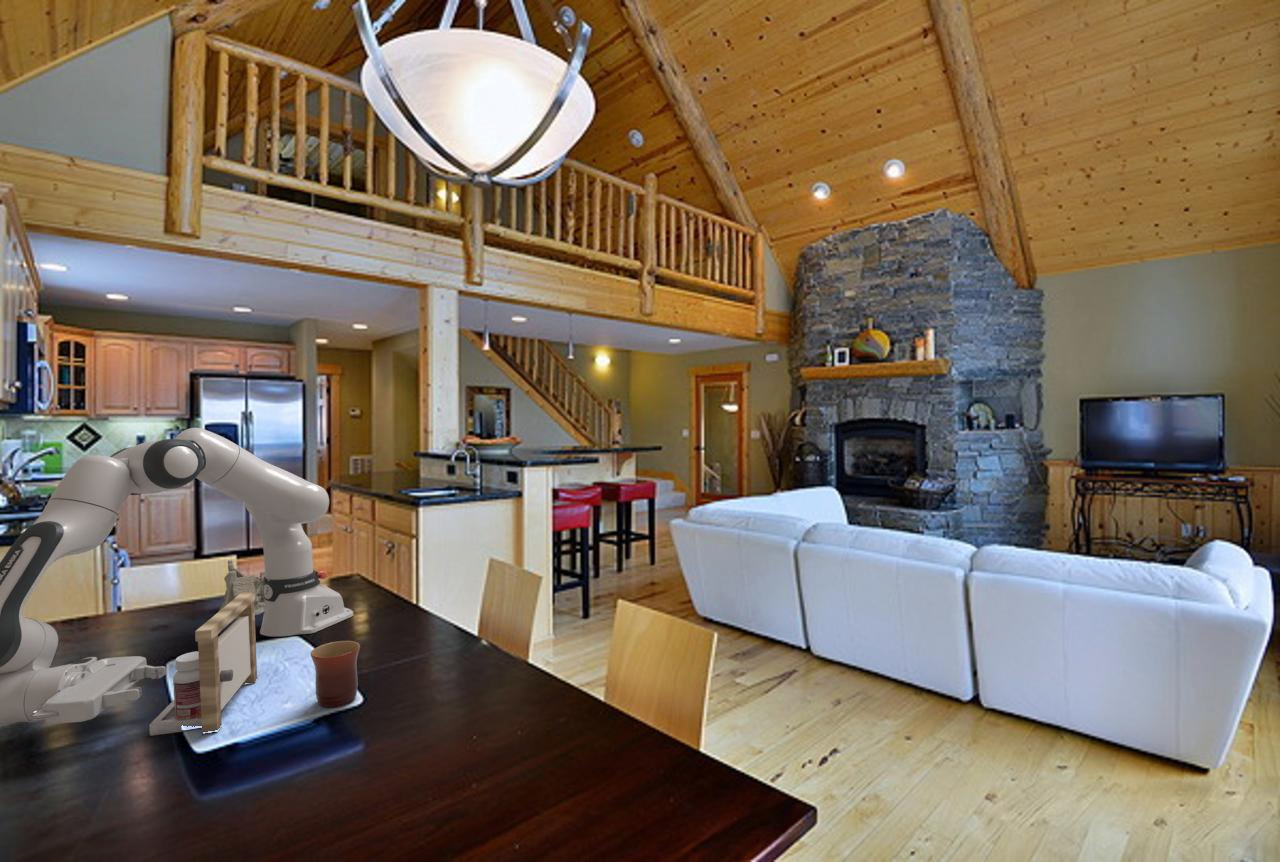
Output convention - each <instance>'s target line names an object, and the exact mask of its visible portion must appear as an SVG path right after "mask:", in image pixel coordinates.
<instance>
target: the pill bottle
mask: <svg viewBox="0 0 1280 862" xmlns="http://www.w3.org/2000/svg"><path fill="white" fill-rule="evenodd" d="M175 670H177V671H176V672H175V674H174V675H173V677H172V681H173V682H172V683H173V684H172V685H173V697H174V698H173V700H174V704H175V719H176V718H184V717H191V716H199V715H201V699H200V676H199V653H198V651H197V650H196V651H191V652H186V653H184V654H181V655H179V656H177V657H176V658H175Z"/></svg>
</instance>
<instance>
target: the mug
mask: <svg viewBox="0 0 1280 862" xmlns="http://www.w3.org/2000/svg"><path fill="white" fill-rule="evenodd" d="M360 649H361V644H360V642H358V641H353V640H339V641H331V642H329V643H325V644H321V645H319V646H317V647H315V648H314V649H312V650H311V652H310V657H311V660H312V662H313V665H314V669H315V692H314V693H315V696H316V697H315V698H316V700H317V703H318V705H319V706H322V707H324V708H335V707H336V708H337V707H340V706H345V705H347V704H349V703H351V702H352V701H353V700H354V699H355V698H356V696H357V695H358V694H357V693H358V687H359V684H358V683H359V681H358V667H357V662H358V661H357V660H358V656H359V652H360Z"/></svg>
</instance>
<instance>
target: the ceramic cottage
mask: <svg viewBox="0 0 1280 862" xmlns="http://www.w3.org/2000/svg"><path fill="white" fill-rule="evenodd" d="M227 570H228V573H226V575H225V576H224V579H223V580H224V582H225V586H226V590H225V592H224V595H223V603H222V604H221V606H220V607H219V609H218V612H219V611H220V610H221V609H223V608H224V607H225V606H226V605H227V604H229V603H230V602H231V601H232V600H233V599H235V598H236V597H237V596H238V595H239V594H240V593H242V592H247V591H255V598H256V599H255V600H254V611H255V616H257V615H261V614H262V613H263V614H264V608H265V599H264V590H263V578H264V577H265V570H264V571H260V572H259V576H257V574H250V575H245V573H244V572H241V571H240V570H238V569H236V568H235V564H234V562H233V560H232V559H229V560H227ZM238 618H239V617H238V616H237V617H236V618H235V619H234V620H237V619H238Z"/></svg>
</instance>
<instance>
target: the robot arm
mask: <svg viewBox="0 0 1280 862" xmlns="http://www.w3.org/2000/svg"><path fill="white" fill-rule="evenodd" d="M195 479H197V480H198V481H200V482H202V483H203V484H206V485H207V486H210V487H211V488H213V489H215V490H217V491H218V492H220V493H223V494H224V495H226V496H228V497H229V498H231V499H233V500H236V501H240V502H242V503H244V506H245V509H246V510H247V511H248V513H249V514H250V515H251V516H252V517H253V520H254V522H255V524H256V528H257V531H258V533H259V536H260V539H261V540H260V541H261V544H262V549H263V560H264V561H263V562H264V571H265V577H264V578H263V590H264V599H265V608H264V612H263V616H262V620H261V621H262V623H261V627H260V630H259V634H260V635H262V636H266V637H287V636H295V635H306V634H307V635H308V634H309V635H311V634H314V633H317V632H318V631H321V630H324V629H326V628H328V627H330V626H333V625H336V624H337V623H340V622H342V621H344V620H347V619H349V618H352V617H353V616H354V611H353V610H352V609H350V608H347V607H345V605H344V604H345V603H344V600H343V597H342V595H341V594H340V593H339V592H338V591H335V590H333V589H332V588H330V587H328V586H326V585H324V584H322V583H321V582H320V579H322V580H326V579H327V578H328V575H329V574H328V572H327V571H325V570H324V571H323V570H320V571H317V570H314V565H313V562H314V561H313V543H312V541H311V538H309V536H307V534H306V533H305V531H304V529H303V525H302V524H308V523H312V522H316V521H319V520H321V519H322V518H323V517H324V516H325V514H326V513H327V512H328V509H329V506H330V498H329V494H328V491H326V489H325V488H324V487H322V486H320V485H318V484H316V483H313V482H310V481H309V480H306V479H304V478H303V477H300V476H298V475H296V474H294V473H292V472H289V471H287V470H285V469H283V468H280V467H278V466H276V465H274V464H272V463H269V462H267V461H265V460H263V459H261V458H260V457H258V456H256V455H255V454H253V453H251V452H250V451H248V450H246V449H245V448H243V447H242V446H240V445H238V444H236V443H234V442H233V441H231V440H230V439H227V438H225V437H224V436H221V435H219V434H218V433H215V432H212V431H209V430H207V429H204V428H200V427H191V428H187V429H185V430H183V431H181V432H180V433H179V434H177V436H175V438H166V439H162V440H152V441H148V442H147V441H146V442H142V443H139V444H137V445H134V446H131V447H130V446H129V447H124V448H123V449H119V450H117V451H116V452H115V453H113V454H112V455H110V456H108V455H105V454H104V455H103V454H89V455H85V456H83V457H80V458H79V459H77V460H76V461H75V462H74V463H73V465H72V466H71V467H70V469H69V470H67V472H66V473H65V475H63V477H62V478H61V480H60V481H59V483H58V485H57V486H56V488H55V489H54V491H53V492H52V494H51V496H50V497H49V500H48V502H47V504H46V505H45V507H44V509H43V511H42V512H41V513H40V515H39V516H38V518H37V519H36V520H35V522H34V523H32V525H30V526H29V527H27V528H25V530H24V531H23V532H22V533H21V534H20V535H18V537H17V539H16V540H15V541H14V542H13V544H12V545H11V546H10V548H9V549H8V551H7V552H6V553H5V555H4V556H3V557H2V559H1V560H0V727H7V726H9V725H12V724H15V723H18V722H19V723H20V722H26V723H38V722H45V723H46V724H54V725H55V724H69V723H70V724H71V723H81V722H86V721H90V720H92V719H95V718H96V717H97V716H99V714H101V713H102V712H103V711H105V710H106V709H107V708H108V707H114V706H117V705H119V704H122V703H126V702H130V701H137V700H138V699H139V698H140V697H142V695H143V692H142V691H143V688H142V687H141V686H137V687H135V684H136V683H138V682H139V681H140V680H143V679H145V678H150V679H151V680H155V679H161V678H163V677H164V676H165V675H166V673H167V671H166V669H167V668H166V667H165V665H164V666H163V665H161V666H153V665H148V664H147V658H146V657H144V656H140V655H139V656H137V655H136V656H132V655H131V656H117V657H106V658H101V659H99V660H98V657H96V656H90V657H85V658H82V659H79V660H77V661H74V662H71V663H68V664H64V665H57V666H53V667H52V664H53V661H54V659H55V656H56V655H57V653H58V648H59V644H60V637H59V633H58V631H57V630H56V628H55V627H54V626H53V625H52V624H49V623H48V622H45V621H41V620H38V619H36V618H30V617H27V616H26V617H25V616H23V610H24V607H25V605H26V603H27V602H28V600H29V598H30V597H31V595H32V594H33V592H34V590H35V589H36V588H37V586H38V583H40V581H41V579H42V577H43V576H44V574H45V573H46V571H47V570H48V569H49V567H50V566H51V565H53V564H54V563H55V562H56V561H58V560H60V559H62V558H65V557H67V556H68V557H69V556H73V555H74V556H75V555H79V554H83V553H86V552H89V551H92V550H94V549H96V548H98V547H99V546H101V545H102V544H103V543H104V542H105V540H106V539H107V538H108V536H109V535H110V533H111V532H112V530H113V528H114V527H115V524H116V522H117V520H118V518H119V515H120V514H121V513H120V512H121V511H122V508H123V506H124V503H125V502H126V501H127V499H128V498H129V497H130V496H138V495H145V494H148V495H149V494H150V495H151V494H157V493H158V494H159V493H162V492H164V491H168V490H173V489H174V490H175V489H178V488H182V487H183V486H186V485H188V484H190V483H192V482H193V480H195ZM133 686H134V687H133Z"/></svg>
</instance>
